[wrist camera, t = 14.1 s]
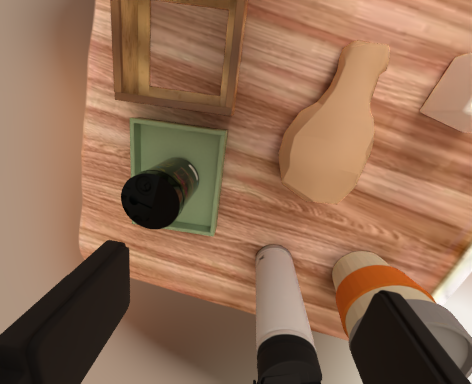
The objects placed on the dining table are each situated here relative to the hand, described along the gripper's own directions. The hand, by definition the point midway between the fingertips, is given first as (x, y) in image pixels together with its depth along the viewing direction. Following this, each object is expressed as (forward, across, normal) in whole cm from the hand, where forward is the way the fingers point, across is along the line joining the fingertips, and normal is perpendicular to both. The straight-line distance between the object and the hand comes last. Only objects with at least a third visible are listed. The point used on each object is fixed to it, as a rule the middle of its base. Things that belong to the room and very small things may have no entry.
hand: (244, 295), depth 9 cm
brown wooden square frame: (+27, +11, -12) cm, 32 cm away
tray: (+27, +10, +5) cm, 29 cm away
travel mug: (+27, -7, +17) cm, 33 cm away
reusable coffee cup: (+27, -22, +17) cm, 39 cm away
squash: (+28, -9, -6) cm, 30 cm away
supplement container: (+26, +10, +5) cm, 29 cm away
